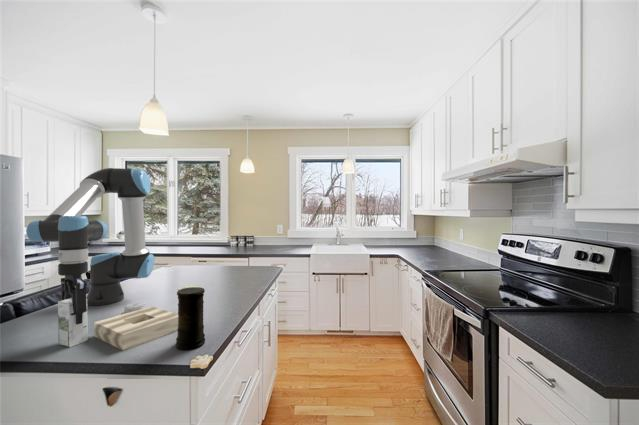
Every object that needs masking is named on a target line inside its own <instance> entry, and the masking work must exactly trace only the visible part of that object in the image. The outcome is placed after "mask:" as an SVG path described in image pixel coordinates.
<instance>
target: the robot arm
mask: <svg viewBox="0 0 639 425" xmlns="http://www.w3.org/2000/svg"><path fill="white" fill-rule="evenodd" d="M151 184H152V183H151V180H150V177H149V175H148V173H147V172H146V170H144V169H141V168H140V169H139V168H115V167H114V168H113V167H107V168H102V169H98V170H97V171H94V172H93V173H91V174H89V175H87V176H86V177H84V178H83V179H82V180H81V181H80V182H79V187H78V188H76V189H75V191H73V192H72V193H71V194H70V195H69V196H68V197H67V198H66V199H65V200H64V201H63V202H62V203H61V204H60V205H59V206H58V207H57V208H55V209H54V210H53V211H52V212H51V213H50V214H49V215H48V216H47V217H46V218H45V219H44V220H41V219H39V220H33V221H30V222H29V223H28V225H27V227H26V230H25V233H26V236H27V238H28V239H29V240H30V241H32V242H39V243H51V242H52V243H53V242H54V243H56V242H57V243H58V249H57V250H58V253H56V256H57V257H58V262H59V263H58V266H57V273H58V275H59V276H62V277H61V278H60V301H62V300H65V299H68V298H72V303H73V312H74V313H72V314H71V316H72V335H75V334H79V333H82V332H83V313H84V312H86V311H87V312H88V306H104V305H110V304H114V303H119V302H120V301H123V300H124V299H125V293H124V290H123V288H122V285H121V280H127V279H128V280H129V279H130V280H132V279H134V280H135V279H138V280H139V279H146V278H149V277H150V275H151V274H152V272H153V270H154V267H155V256H154V254H152V253H150V249H149V248H147V247H146V233H145V232H146V230H145V215H144V213H145V212H144V200H145V199H146V198H147V194H149V193H150V192H151V187H152V185H151ZM110 193H111V194H112V193H113V194H117V199H119V200H121V208H122V220H123V222H122V223H123V236H124V250H123V251H122V252H121V253H120V252H119V251H113V252H107V253H106V252H105V253H102V254H97V255H94V256H92V257H91V258H90V263H89V262H88V260H89V248H88V247H89V246H88V245H89V243H88V242H98V241H99V240H102V239H104V238H105V237H106V236H107V235H108V233H109V228H108V225H107V224H106V223H105V222H103V221H102V220H95V219H94V220H93V219H92V220H89V219H88V216H86V215H83V214H84V213H85V212H86V210H88V208H89V207H91V205H93V203H94V202H95V201H96V200H97V199H98V198H101V197H103V196H104V195H105V194H110ZM89 264H90V266H89ZM88 266H89V267H88ZM89 268H90V271H89ZM88 271H89V272H90V277H89V278H90V280H89V281H90V286H89V290H88V292H87V281H83V280H84V279H83V277H82V276H83V275H82V274H85V273H88ZM63 276H64V277H63ZM86 299H87V305H86Z"/></svg>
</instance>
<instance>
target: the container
mask: <svg viewBox="0 0 639 425" xmlns="http://www.w3.org/2000/svg"><path fill="white" fill-rule="evenodd" d="M205 291H206V290H205V288H203V287H201V288H200V287H190V288H184V289H180V290H178V289H177V292H176V295H177V298H178V299H177V301H178V300H179V303H177V306H178V307H177V308H178V309H177V314H178V329H177V331H176V332H177V337H176V338H175V339H176V340H175V341H176V343H175V347H176V349H177V350H180V351H191V350H196V349H199V348H200V347H202V346H204V344H205V342H206V338H205V337H206V336H205V335H206V334H205V332H204V331H205V330H204V329H205V326H204V303H205V301H204V296H205Z"/></svg>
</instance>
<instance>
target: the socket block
mask: <svg viewBox="0 0 639 425" xmlns="http://www.w3.org/2000/svg"><path fill="white" fill-rule="evenodd" d="M93 326H94V332H93V334H94V336H93V337H95V338H97V339H99V340H101V341H103V342H105V343H106V344H109V345H110V346H113V347H115V348H117V349H119V350H121V351H126V350H129V349H131V348H134V347H137V346H139V345H142V344H144V343H148V342H150V341H152V340H153V341H154V340H156V339H158V338H161V337H163V336H166V335H169V334H173V333H174V332H178V331H177V329H178V313H175V312H172V311H168V310H165V309H161V308H158V307H156V306H148V307H145V308H144V309H141V310H137V311H133V312H130V313H126V314H122V315H121V314H119V315H115V316H112V317H108V318H105V319H104V318H103V319H101V320H100V319H99V320H96V321H94V324H93Z"/></svg>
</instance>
